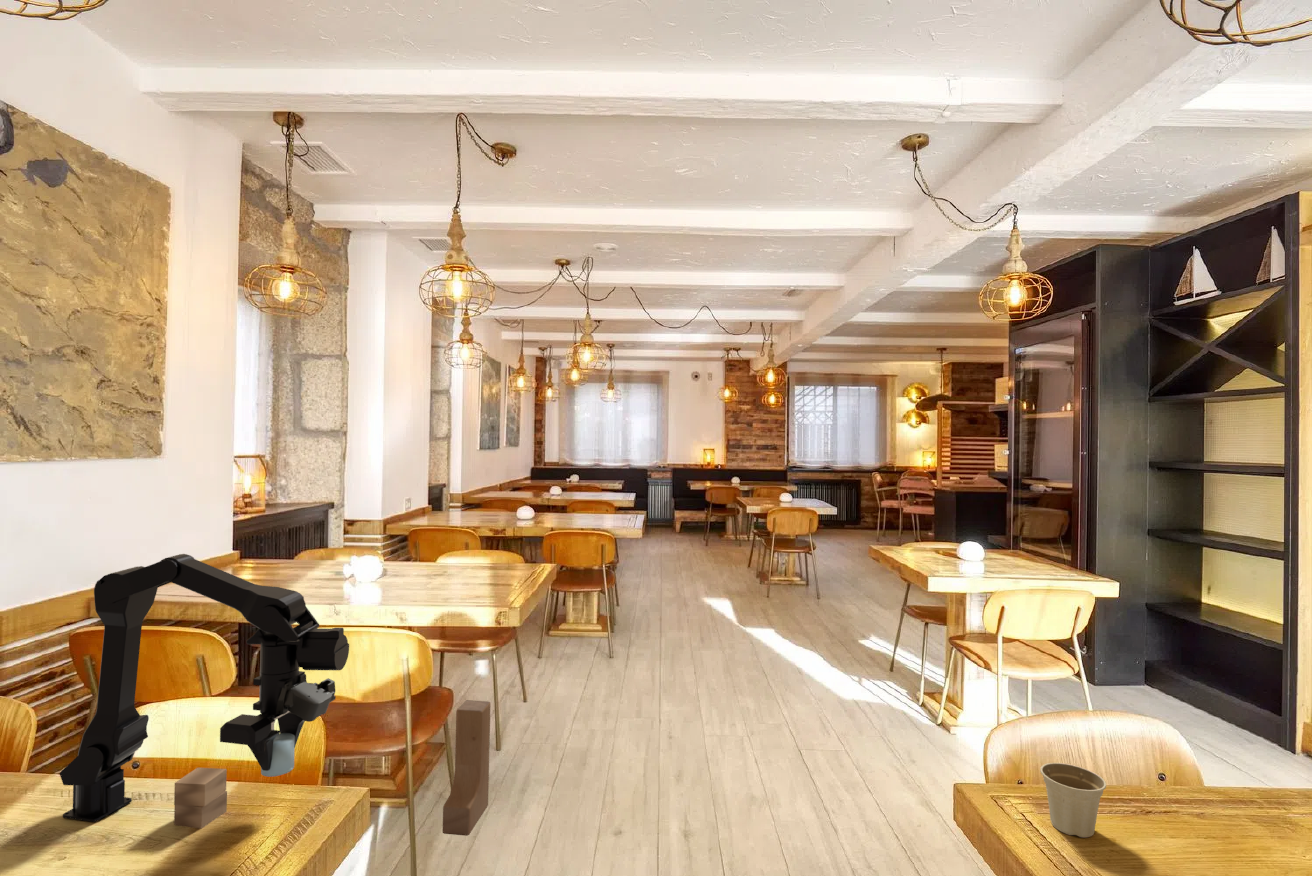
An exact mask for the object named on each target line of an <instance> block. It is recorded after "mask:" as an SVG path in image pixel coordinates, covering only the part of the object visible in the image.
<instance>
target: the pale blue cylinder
mask: <svg viewBox="0 0 1312 876" xmlns="http://www.w3.org/2000/svg"><path fill="white" fill-rule="evenodd" d="M294 747H296V745H295V736H294V735H293V734H290V733H279V734H278V735H277V736H276V737H275V739H274V740H273V751H272V761H271V766H270V770H268V771H264V770H262V768H261V767H260V774H261V775H262V777H278V776H279V777H280V776H282V775H285V774H288V773H290V772H291V771H292V770H293V769H295V748H294Z"/></svg>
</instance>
